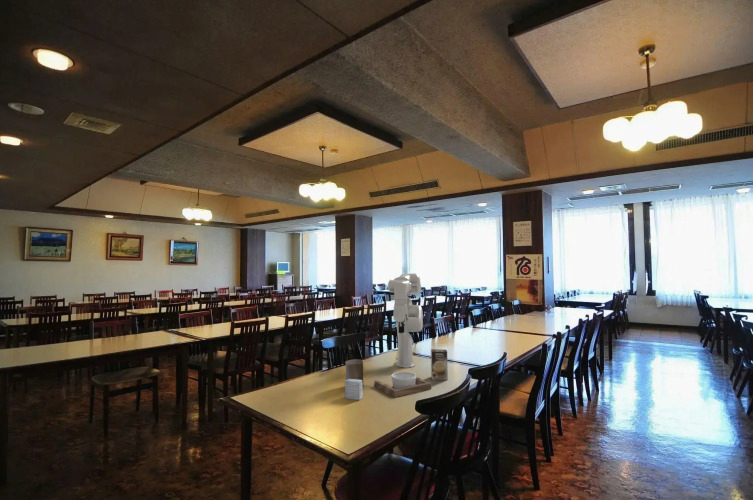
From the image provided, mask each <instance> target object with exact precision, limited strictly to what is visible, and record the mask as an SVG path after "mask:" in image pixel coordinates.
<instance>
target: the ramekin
mask: <svg viewBox="0 0 753 500" xmlns="http://www.w3.org/2000/svg"><path fill="white" fill-rule="evenodd" d="M416 377H417V375H416V373H414V372H410V371H397V372H394V373H392V374H391V380H392V381H391V382H392V388H394V389H400V388H405V387H409V386H414V385H416V384H415V382H416Z"/></svg>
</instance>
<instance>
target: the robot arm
mask: <svg viewBox="0 0 753 500" xmlns="http://www.w3.org/2000/svg"><path fill="white" fill-rule="evenodd" d="M421 284H422V283H421V278H420V276H419V274H418V273H402V274H400V275H399V276H398V277H393V278H391V279H389V280H388V283H387V290H388V292H389V293H394V296H393V297H394V298H393V299H394V305H393V317H392V319H393V320H394V321H395V326H396V330H397V331H396V332H397V333H396V334H397V357H396V358H395V360H396V361H397V362H396V363H395V366H396V367H398V368H406V369H407V368H412V367H415V366H416V362H413V360H414V359H413V337H412V336H411V334H410V333H411V332H412V333H415V332H416V333H417V332H419V333H420V332H421V331H422V330H423V327H424V323H423V321H424V320H423V319H424V317H423V315H424V314H423V308H422V306H421V305H420V304H413V301H412V299H411V298H410V297H409V296H408V295H412V296H413V295H420V294H421V292H422V285H421Z"/></svg>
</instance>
